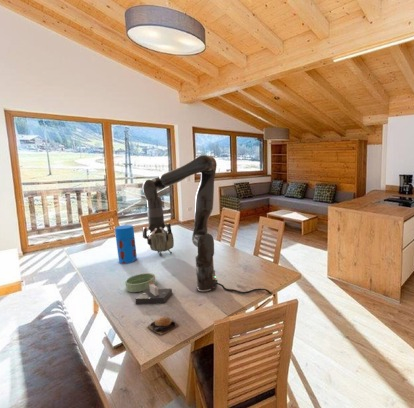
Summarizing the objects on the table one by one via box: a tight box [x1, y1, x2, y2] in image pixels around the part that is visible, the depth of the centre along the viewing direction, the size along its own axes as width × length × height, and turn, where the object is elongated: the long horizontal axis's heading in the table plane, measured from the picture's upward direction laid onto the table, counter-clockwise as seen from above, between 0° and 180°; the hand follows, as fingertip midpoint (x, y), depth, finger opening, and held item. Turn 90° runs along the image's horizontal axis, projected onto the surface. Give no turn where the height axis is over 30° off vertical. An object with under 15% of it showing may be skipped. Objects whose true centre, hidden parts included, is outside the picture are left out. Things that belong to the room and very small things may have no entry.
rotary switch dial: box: [135, 287, 173, 305], centre depth 146 cm, size 14×11×3 cm
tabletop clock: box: [149, 229, 175, 257], centre depth 207 cm, size 14×9×25 cm, turn 79°
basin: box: [124, 272, 157, 293], centre depth 159 cm, size 15×15×5 cm
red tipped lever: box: [149, 283, 159, 296], centre depth 145 cm, size 7×2×5 cm, turn 50°
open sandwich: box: [147, 316, 178, 336], centre depth 122 cm, size 11×8×4 cm
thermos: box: [114, 224, 138, 265], centre depth 195 cm, size 11×11×25 cm
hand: (158, 243), depth 155 cm, fingers open, 8 cm apart
